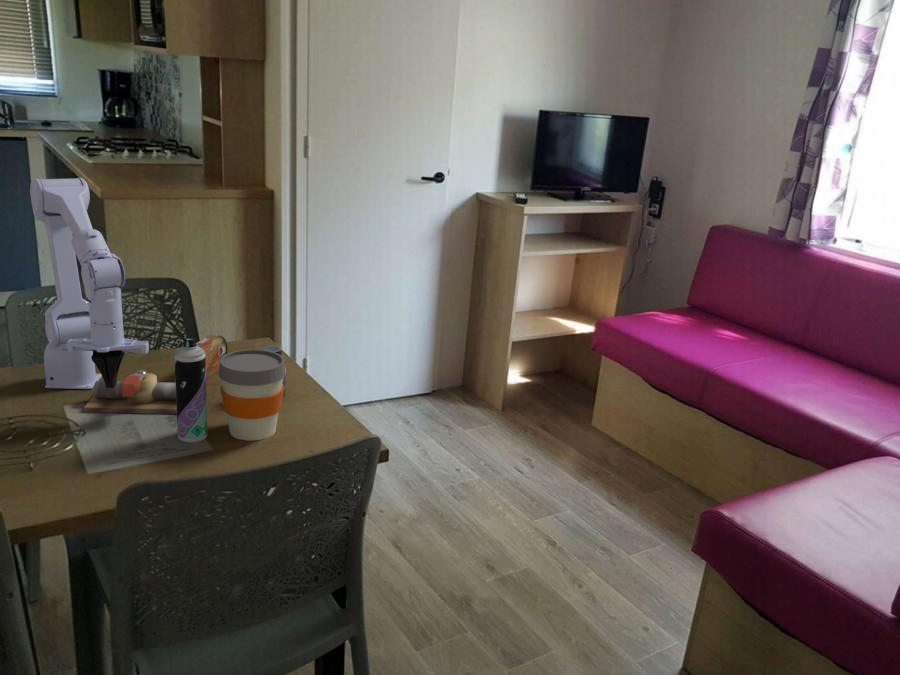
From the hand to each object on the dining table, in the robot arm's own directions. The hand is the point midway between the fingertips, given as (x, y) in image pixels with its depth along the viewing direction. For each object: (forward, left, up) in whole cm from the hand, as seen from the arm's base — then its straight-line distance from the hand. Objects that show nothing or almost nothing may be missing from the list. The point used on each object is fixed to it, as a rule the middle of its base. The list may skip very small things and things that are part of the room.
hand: (111, 385), depth 150 cm
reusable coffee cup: (+28, -4, -7) cm, 29 cm away
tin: (+14, +25, -7) cm, 29 cm away
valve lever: (+4, +3, -1) cm, 5 cm away
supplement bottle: (+30, +13, -7) cm, 33 cm away
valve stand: (+4, +8, -7) cm, 11 cm away
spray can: (+17, -7, -7) cm, 20 cm away
